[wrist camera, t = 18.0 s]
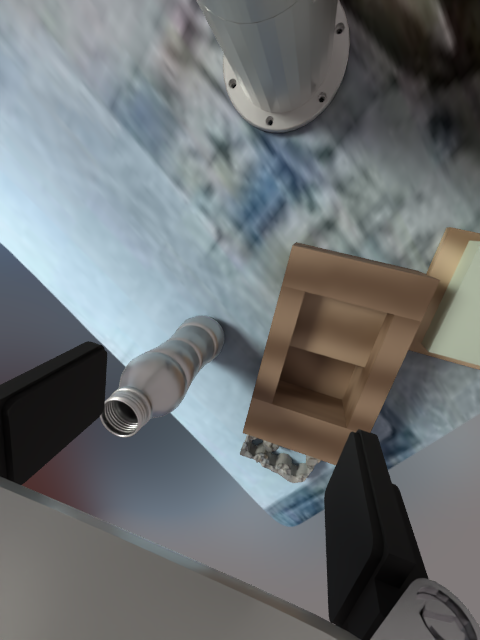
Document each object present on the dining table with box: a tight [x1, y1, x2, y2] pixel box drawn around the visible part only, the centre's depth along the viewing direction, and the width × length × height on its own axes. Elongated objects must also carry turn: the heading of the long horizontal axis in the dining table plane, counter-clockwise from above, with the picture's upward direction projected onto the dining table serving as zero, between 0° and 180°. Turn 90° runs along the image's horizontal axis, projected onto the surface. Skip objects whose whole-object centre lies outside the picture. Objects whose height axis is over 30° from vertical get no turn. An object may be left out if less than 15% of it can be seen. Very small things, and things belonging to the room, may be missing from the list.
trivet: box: [408, 227, 480, 370], centre depth 32 cm, size 14×10×1 cm
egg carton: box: [240, 435, 321, 483], centre depth 42 cm, size 11×8×4 cm
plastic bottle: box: [100, 315, 224, 437], centre depth 32 cm, size 6×7×20 cm
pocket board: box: [243, 242, 440, 465], centre depth 35 cm, size 24×14×6 cm, turn 168°
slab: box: [421, 241, 480, 366], centre depth 31 cm, size 12×5×2 cm, turn 168°
